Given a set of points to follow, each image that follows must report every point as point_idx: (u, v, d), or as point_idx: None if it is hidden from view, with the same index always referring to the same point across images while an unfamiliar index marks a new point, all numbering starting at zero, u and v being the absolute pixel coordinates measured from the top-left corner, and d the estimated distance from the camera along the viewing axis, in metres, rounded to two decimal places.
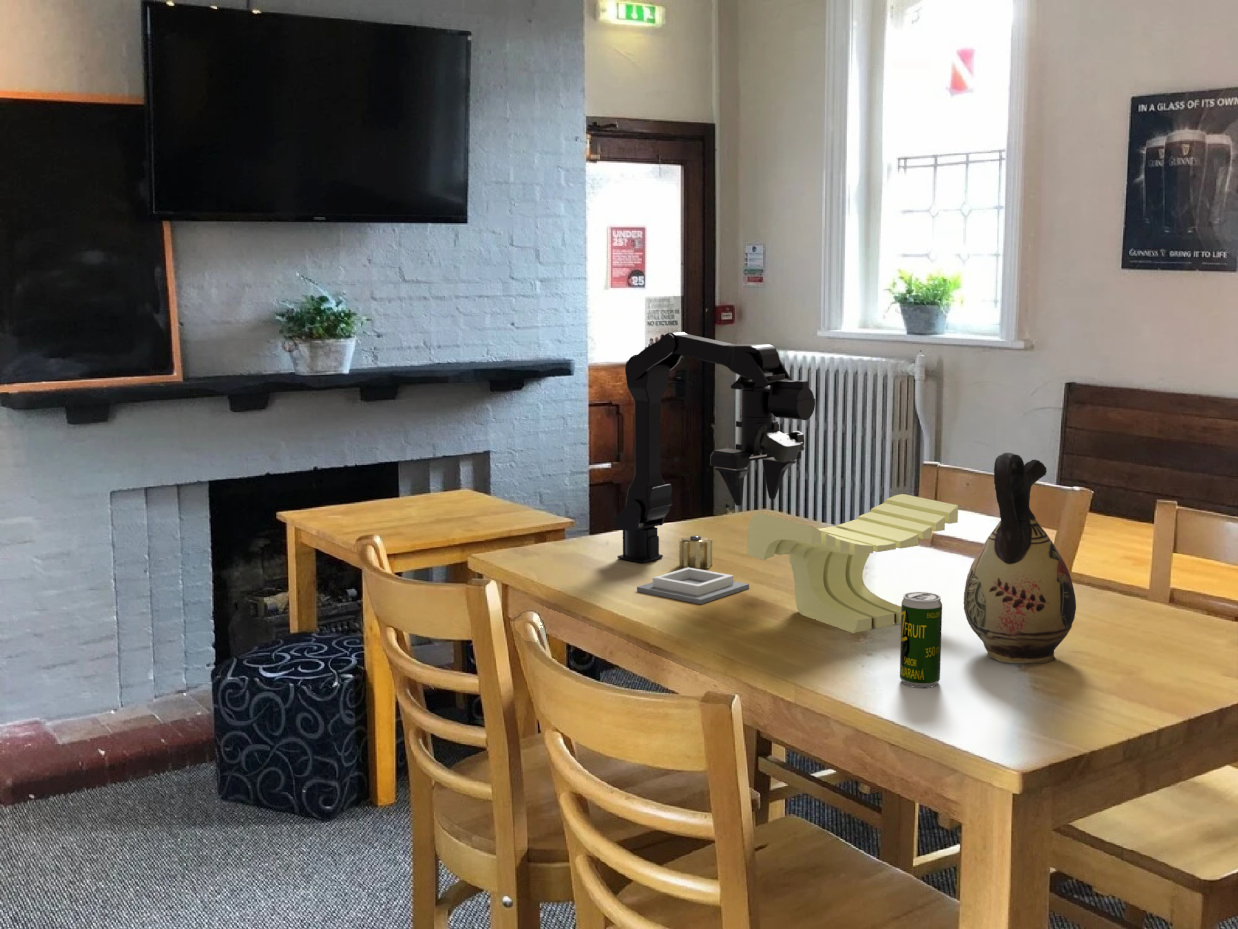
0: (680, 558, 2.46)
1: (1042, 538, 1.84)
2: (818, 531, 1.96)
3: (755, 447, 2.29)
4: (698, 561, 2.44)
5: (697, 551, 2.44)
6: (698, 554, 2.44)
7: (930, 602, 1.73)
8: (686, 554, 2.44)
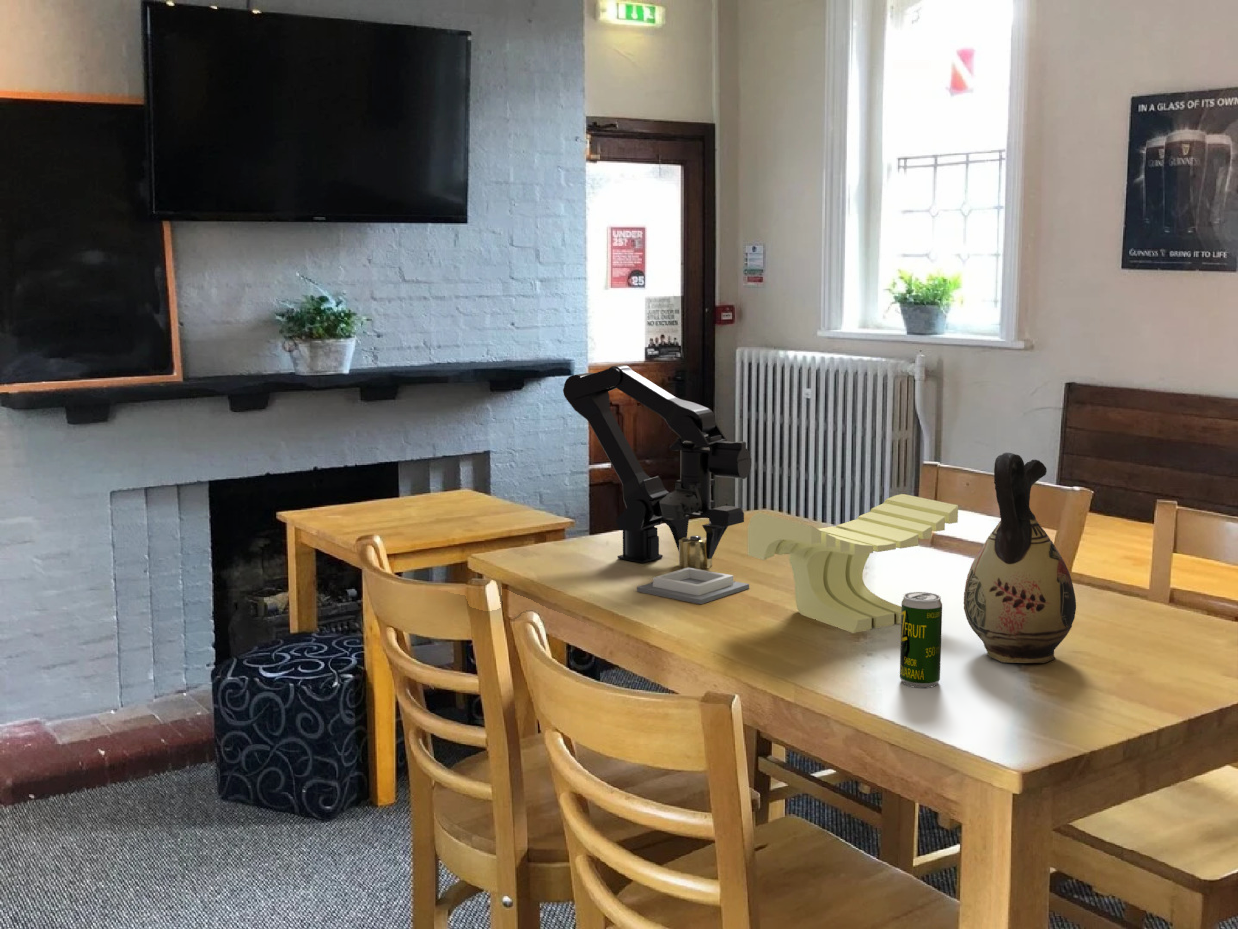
0: (680, 558, 2.46)
1: (1042, 538, 1.84)
2: (818, 531, 1.96)
3: None
4: (698, 561, 2.44)
5: (697, 551, 2.44)
6: (698, 554, 2.44)
7: (930, 602, 1.73)
8: (686, 554, 2.44)
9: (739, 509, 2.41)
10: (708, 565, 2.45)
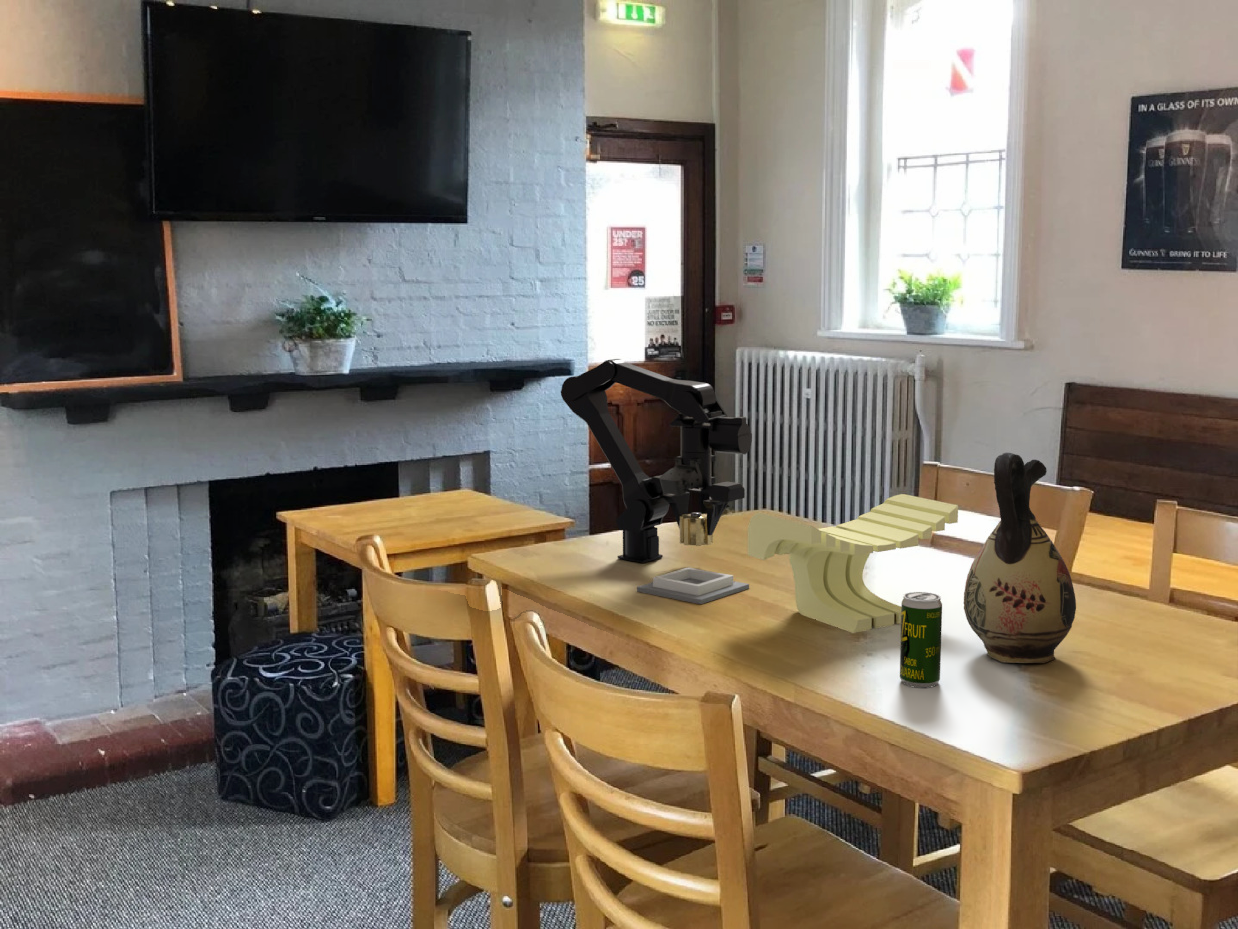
0: (681, 535, 2.46)
1: (1042, 538, 1.84)
2: (818, 531, 1.96)
3: None
4: (698, 538, 2.43)
5: (697, 528, 2.43)
6: (699, 530, 2.43)
7: (930, 602, 1.73)
8: (687, 530, 2.44)
9: (740, 485, 2.40)
10: (709, 542, 2.44)
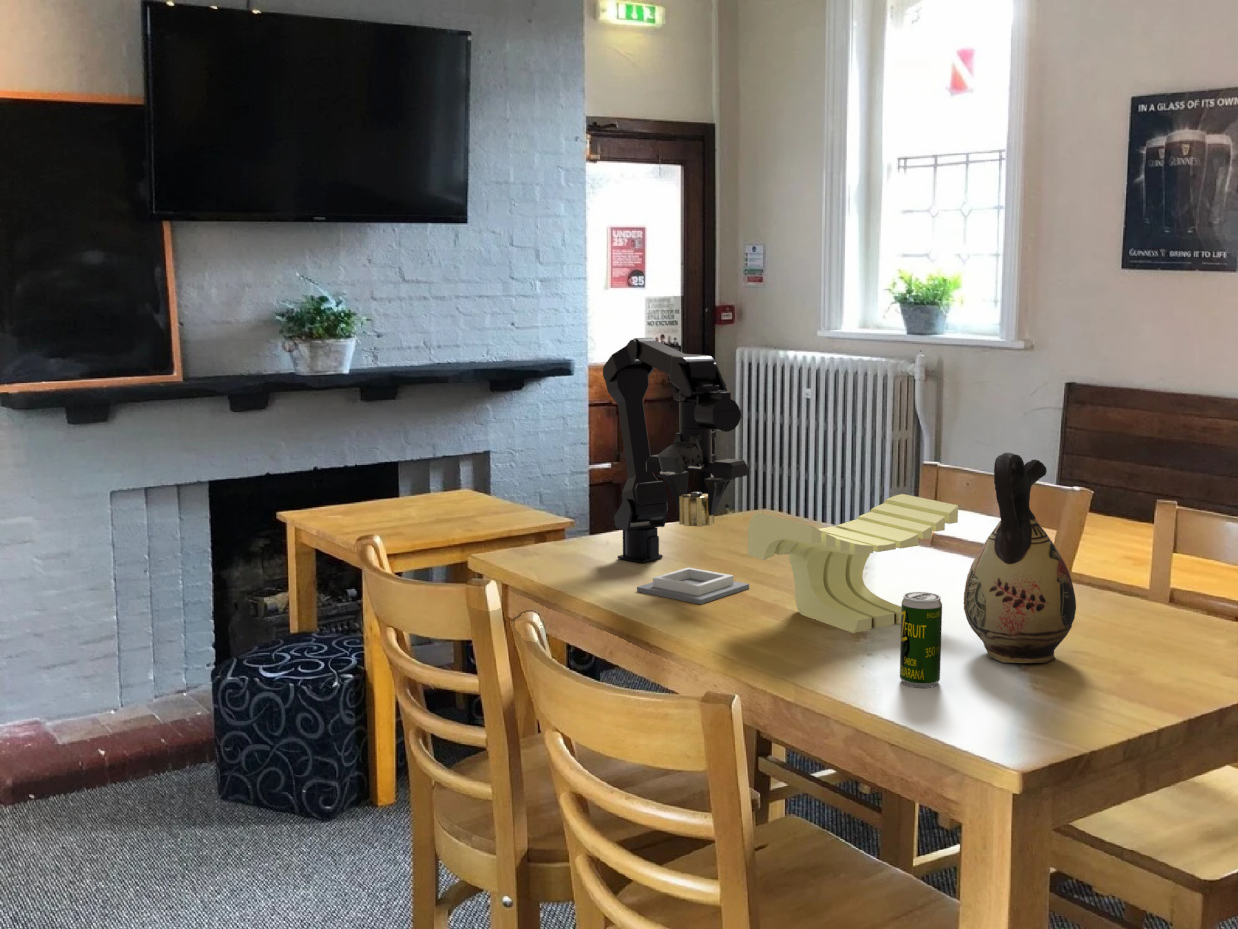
0: (680, 515, 2.33)
1: (1042, 538, 1.84)
2: (818, 531, 1.96)
3: None
4: (700, 518, 2.31)
5: (698, 507, 2.31)
6: (700, 510, 2.31)
7: (930, 602, 1.73)
8: (687, 510, 2.31)
9: (742, 461, 2.28)
10: (710, 522, 2.32)
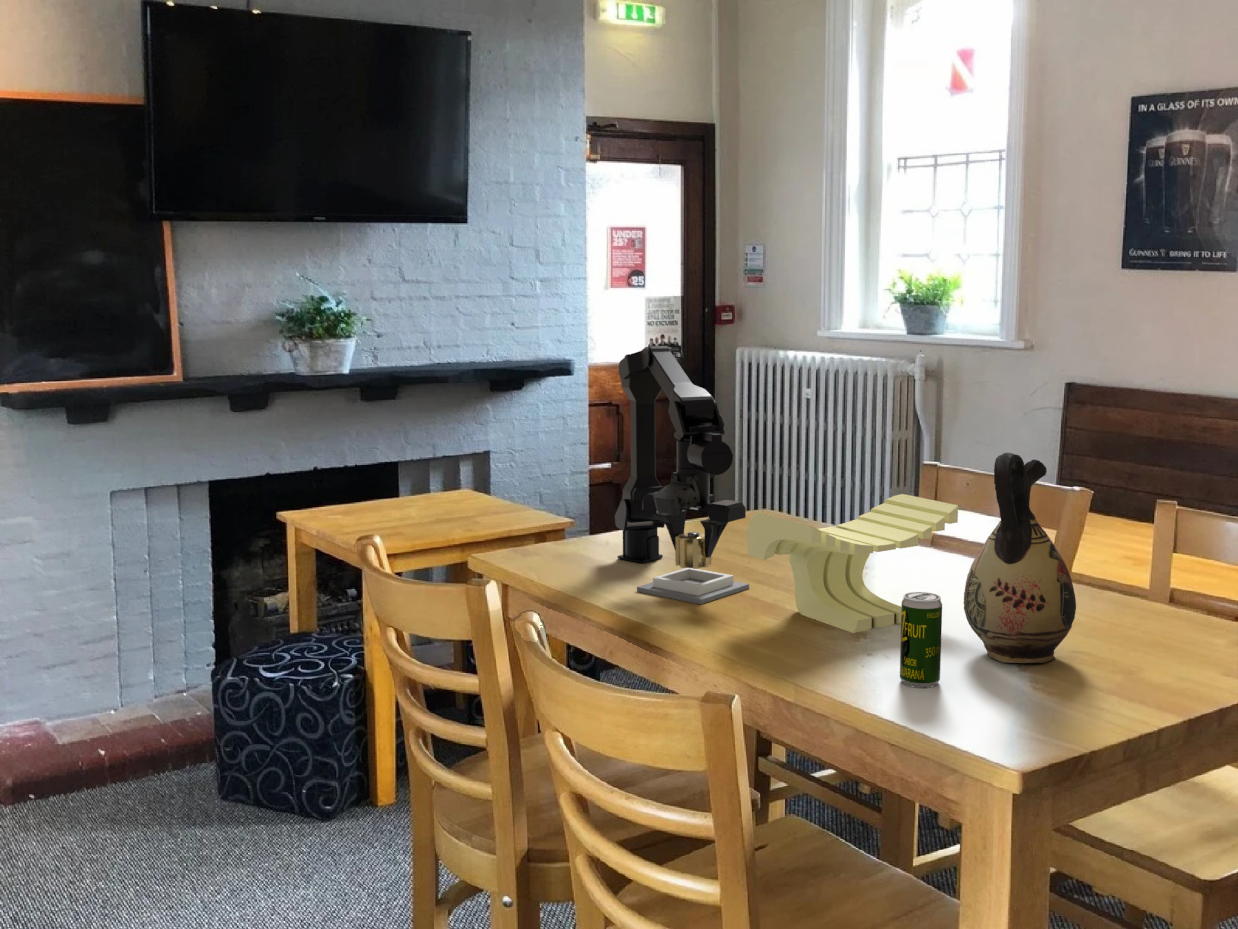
0: (677, 556, 2.28)
1: (1042, 538, 1.84)
2: (818, 531, 1.96)
3: None
4: (696, 560, 2.25)
5: (695, 549, 2.25)
6: (696, 552, 2.25)
7: (930, 602, 1.73)
8: (683, 551, 2.25)
9: (740, 504, 2.22)
10: (707, 564, 2.26)
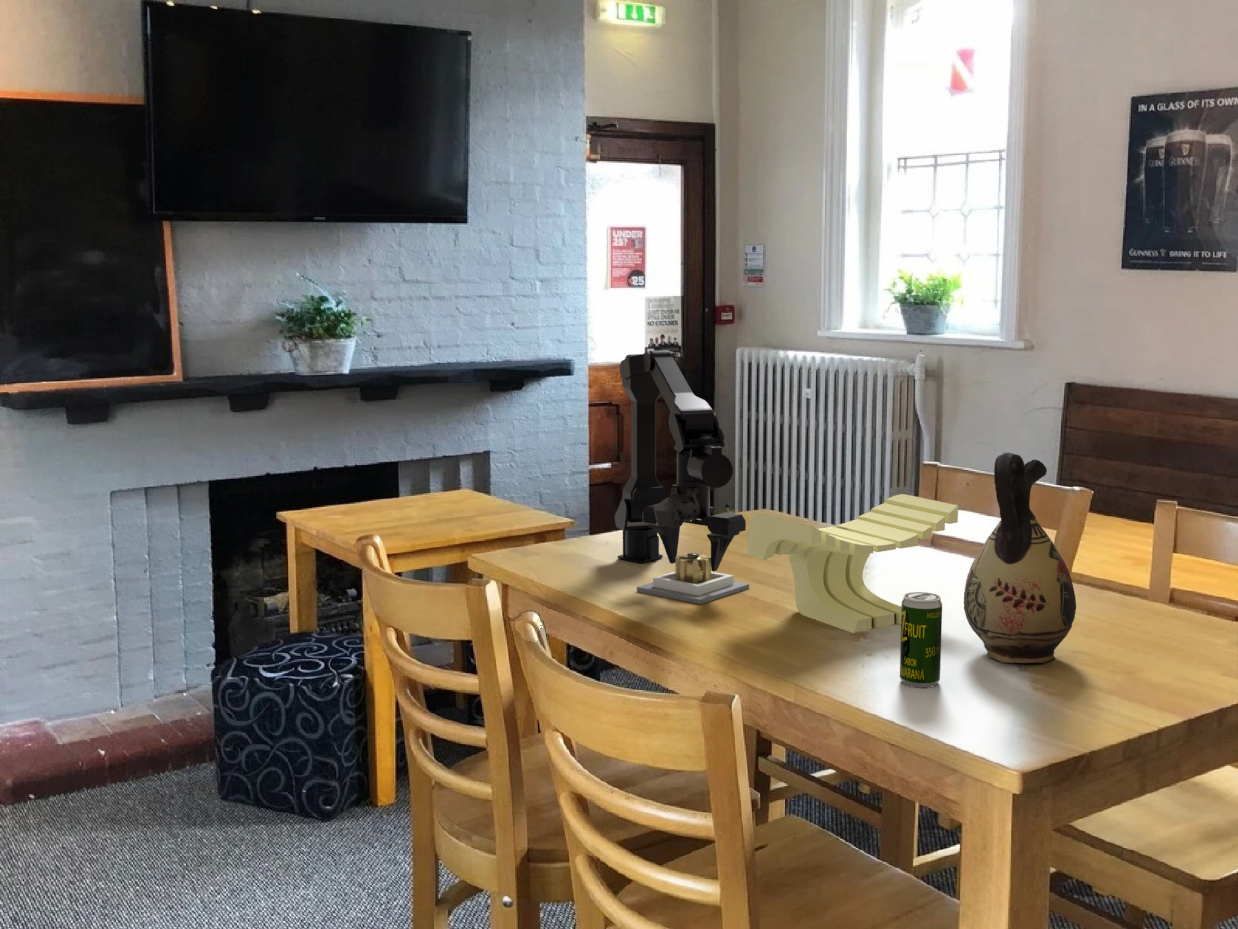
0: (676, 577, 2.28)
1: (1042, 538, 1.84)
2: (818, 531, 1.96)
3: None
4: (696, 581, 2.26)
5: (695, 570, 2.25)
6: (696, 573, 2.25)
7: (930, 602, 1.73)
8: (683, 572, 2.26)
9: (740, 516, 2.22)
10: None
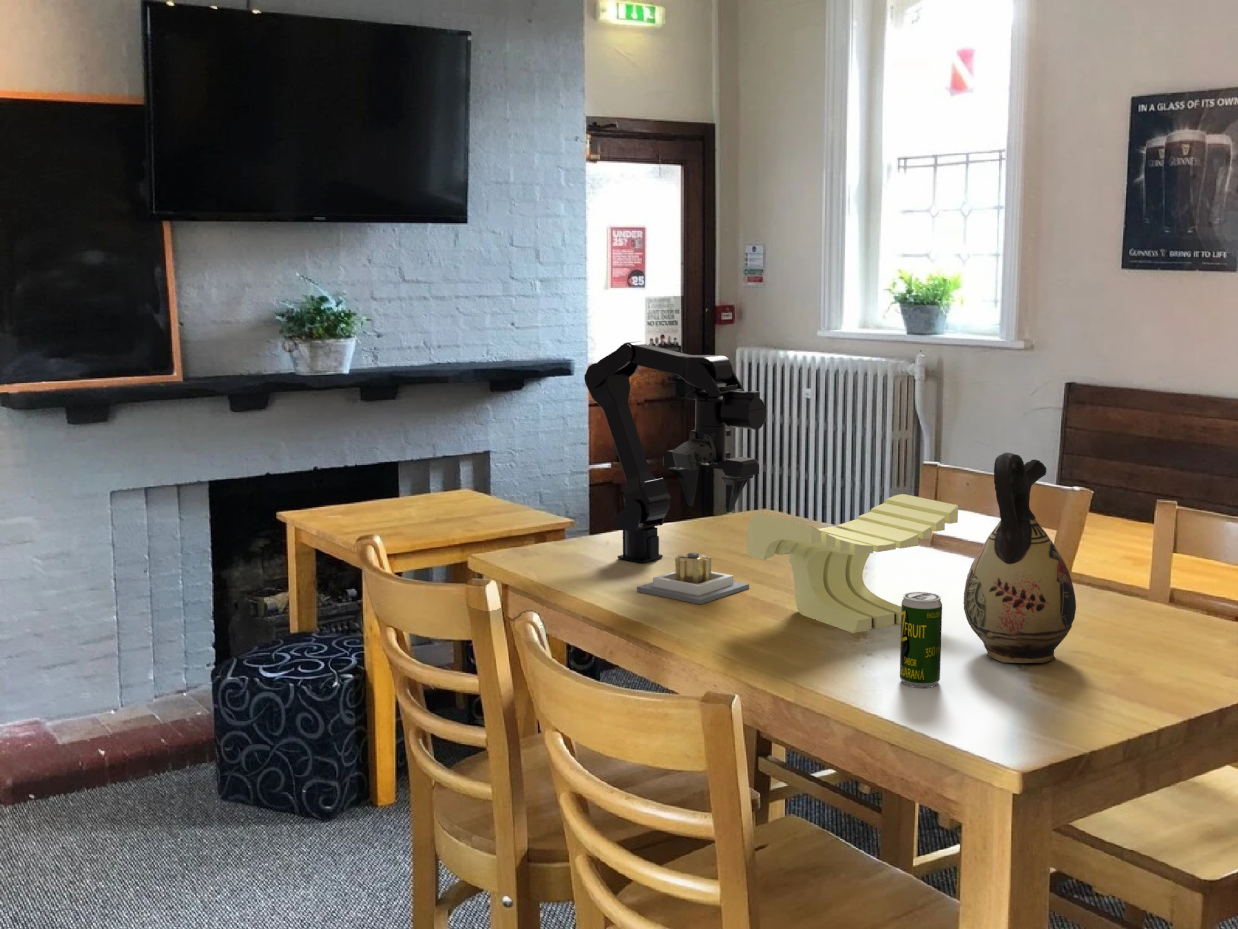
0: (676, 577, 2.28)
1: (1042, 538, 1.84)
2: (818, 531, 1.96)
3: None
4: (696, 581, 2.26)
5: (695, 570, 2.25)
6: (696, 573, 2.25)
7: (930, 602, 1.73)
8: (683, 572, 2.26)
9: (754, 460, 2.35)
10: None
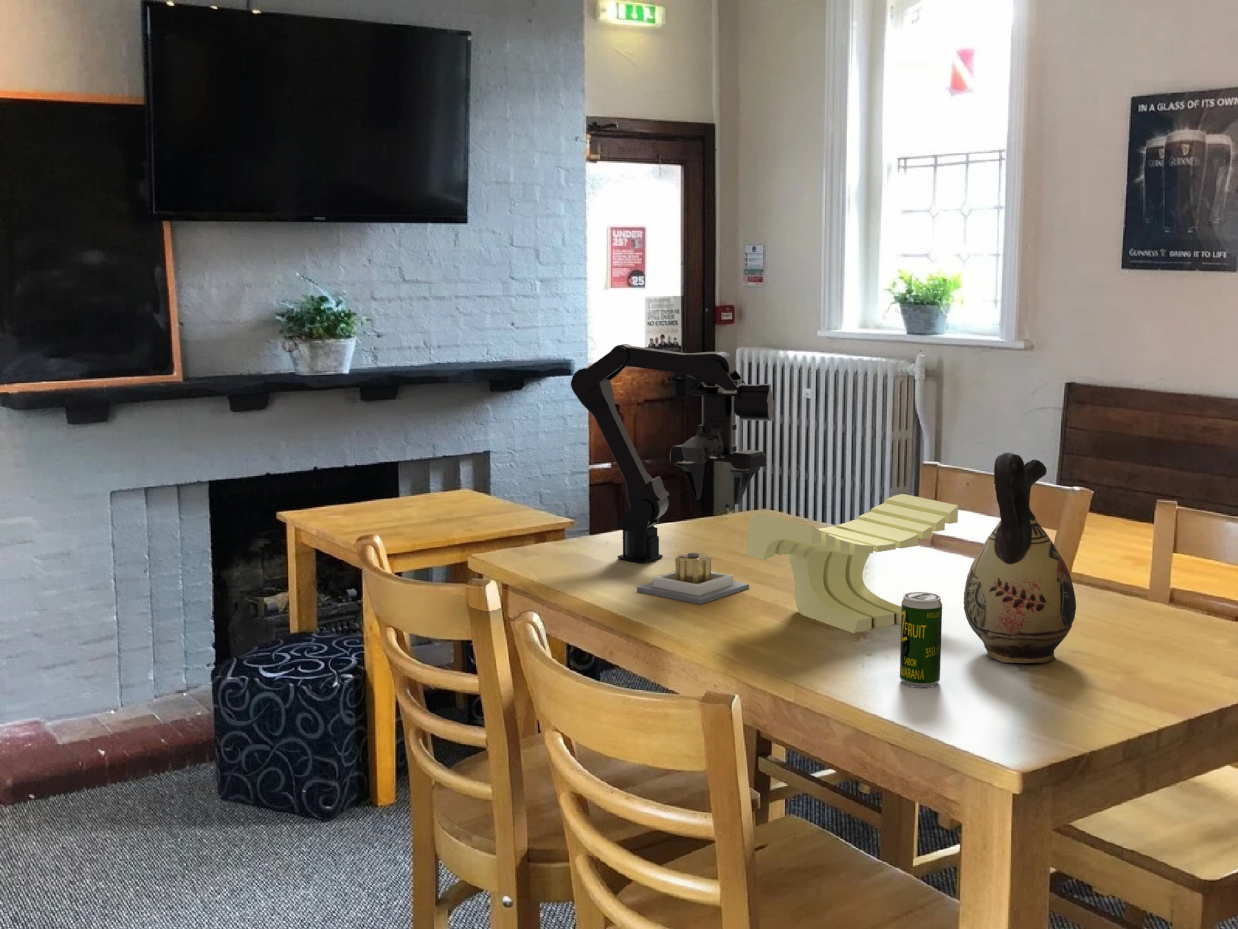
0: (676, 577, 2.28)
1: (1042, 538, 1.84)
2: (818, 531, 1.96)
3: None
4: (696, 581, 2.26)
5: (695, 570, 2.25)
6: (696, 573, 2.25)
7: (930, 602, 1.73)
8: (683, 572, 2.26)
9: (761, 453, 2.41)
10: None
